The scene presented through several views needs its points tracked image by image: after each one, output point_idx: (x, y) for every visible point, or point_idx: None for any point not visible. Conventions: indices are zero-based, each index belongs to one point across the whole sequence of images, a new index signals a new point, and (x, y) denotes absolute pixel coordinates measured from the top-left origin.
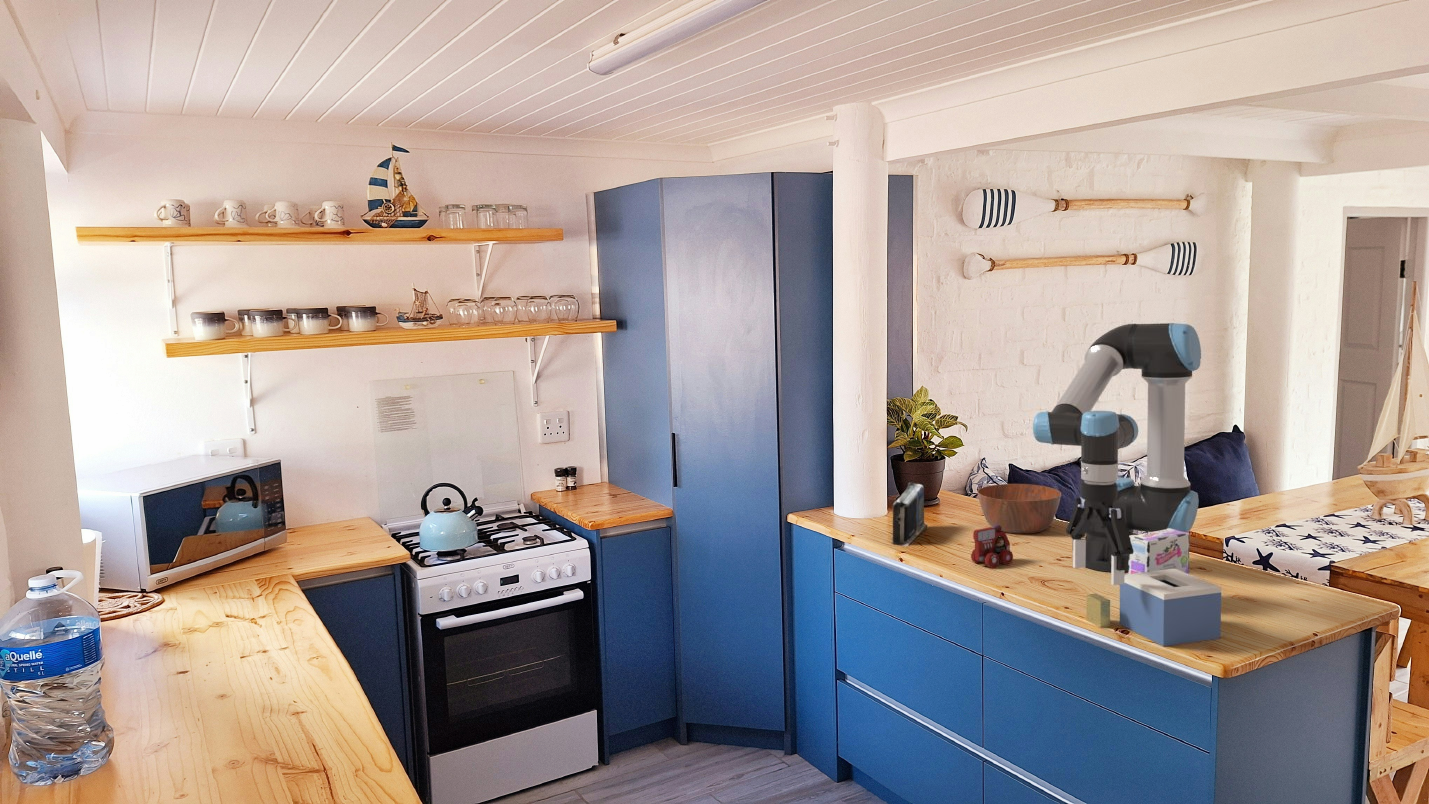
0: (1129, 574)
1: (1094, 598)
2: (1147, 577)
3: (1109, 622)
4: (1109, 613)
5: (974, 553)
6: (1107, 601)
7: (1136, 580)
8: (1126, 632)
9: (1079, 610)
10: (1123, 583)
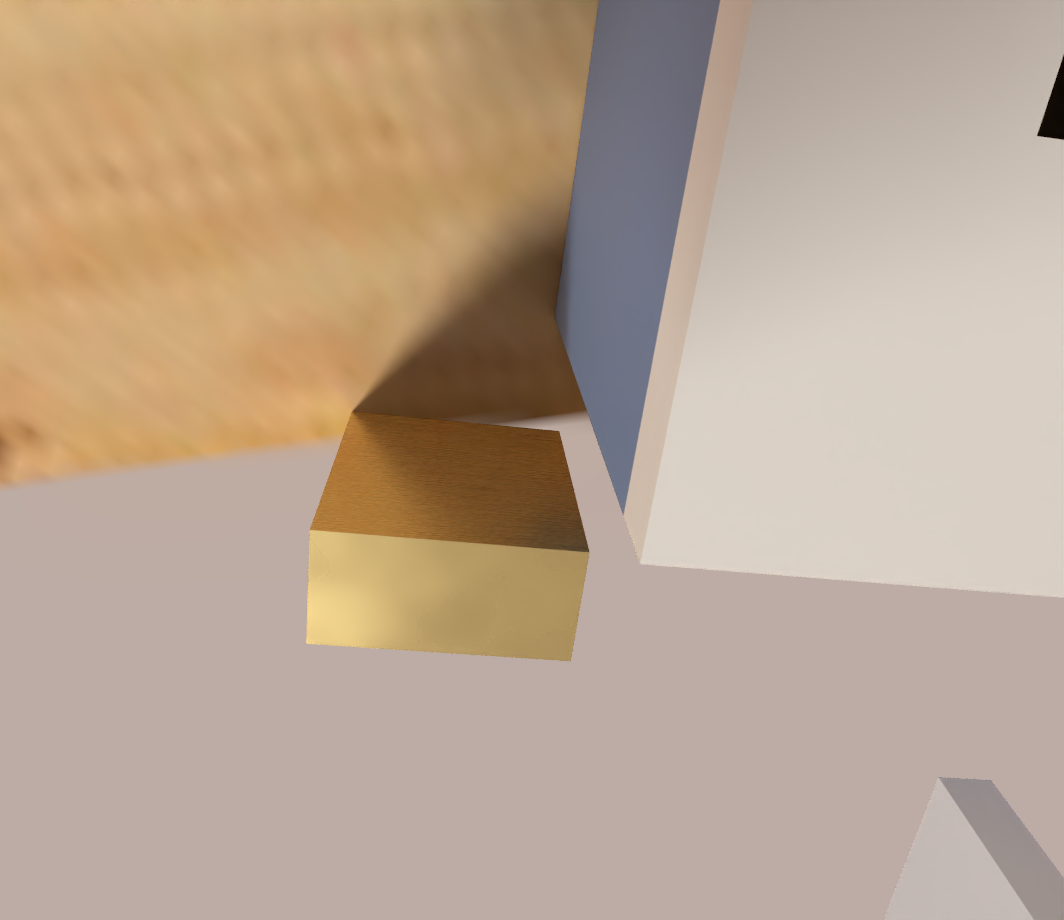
0: (702, 382)
1: (458, 653)
2: (1054, 214)
3: (562, 450)
4: (569, 487)
5: None
6: (583, 579)
7: (1021, 531)
8: None
9: (87, 387)
10: (988, 797)
